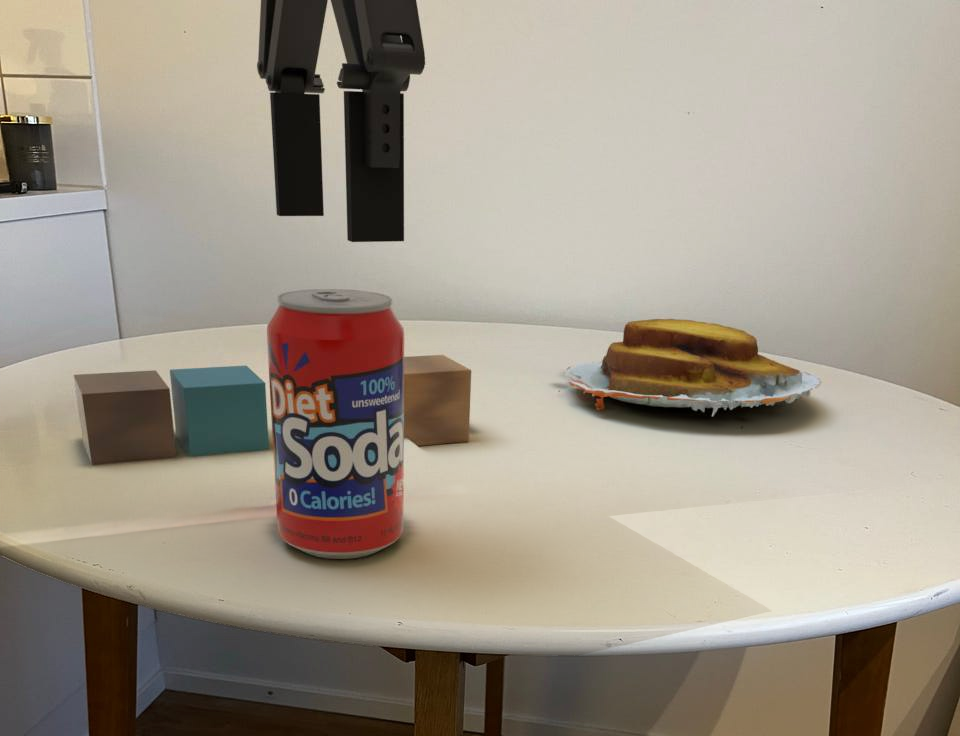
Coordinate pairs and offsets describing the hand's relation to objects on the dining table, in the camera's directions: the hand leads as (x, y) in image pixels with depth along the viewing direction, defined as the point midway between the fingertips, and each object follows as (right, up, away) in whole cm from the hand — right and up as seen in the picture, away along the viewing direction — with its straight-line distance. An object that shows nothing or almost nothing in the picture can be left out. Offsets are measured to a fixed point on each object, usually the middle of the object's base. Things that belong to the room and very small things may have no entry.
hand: (334, 227), depth 56 cm
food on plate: (+29, +1, +46) cm, 54 cm away
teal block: (-12, -8, +24) cm, 28 cm away
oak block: (+3, -5, +31) cm, 31 cm away
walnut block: (-19, -9, +21) cm, 30 cm away
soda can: (-1, -17, +9) cm, 19 cm away
